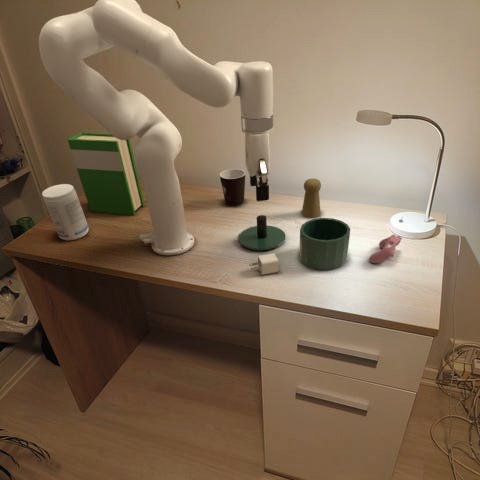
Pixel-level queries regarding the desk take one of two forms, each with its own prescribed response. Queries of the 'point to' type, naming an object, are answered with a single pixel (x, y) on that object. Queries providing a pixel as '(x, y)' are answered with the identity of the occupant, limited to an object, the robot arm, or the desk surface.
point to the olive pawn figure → (311, 199)
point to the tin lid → (262, 236)
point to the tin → (324, 243)
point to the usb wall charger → (266, 264)
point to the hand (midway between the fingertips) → (259, 192)
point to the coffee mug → (233, 186)
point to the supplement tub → (65, 211)
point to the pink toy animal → (386, 249)
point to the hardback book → (107, 172)
